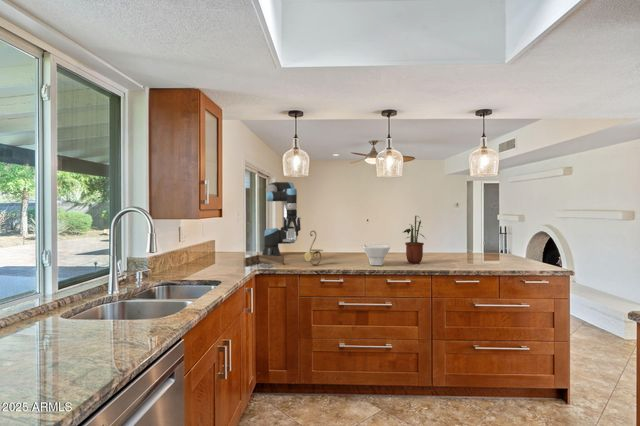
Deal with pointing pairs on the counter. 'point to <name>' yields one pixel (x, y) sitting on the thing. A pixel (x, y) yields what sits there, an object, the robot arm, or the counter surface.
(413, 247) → the potted plant
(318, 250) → the wall sconce
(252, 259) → the corner walls
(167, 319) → the counter surface
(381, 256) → the bowl
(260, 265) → the mat
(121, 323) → the counter surface
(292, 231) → the angle bracket
